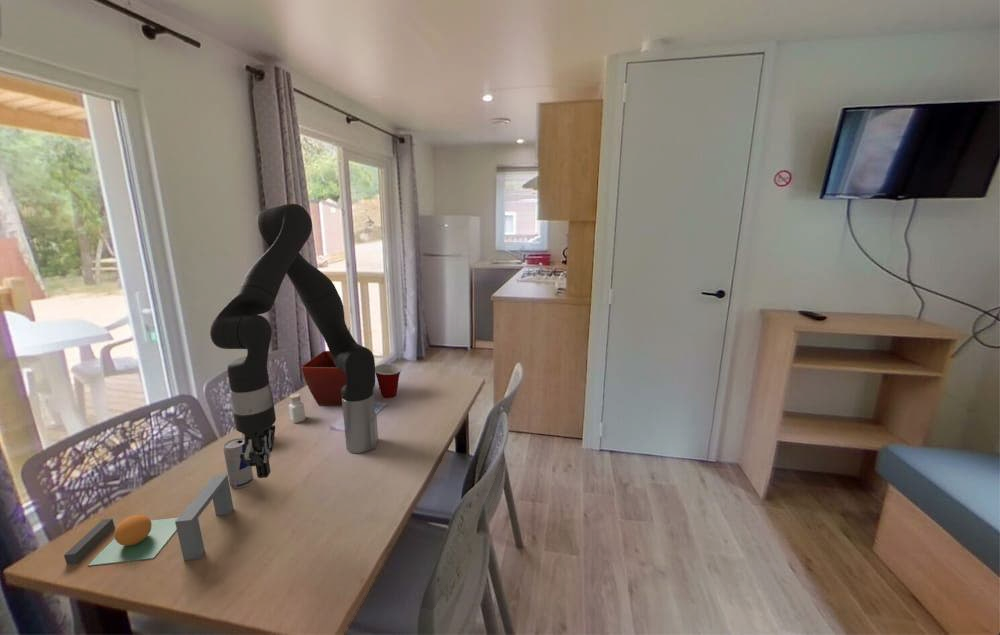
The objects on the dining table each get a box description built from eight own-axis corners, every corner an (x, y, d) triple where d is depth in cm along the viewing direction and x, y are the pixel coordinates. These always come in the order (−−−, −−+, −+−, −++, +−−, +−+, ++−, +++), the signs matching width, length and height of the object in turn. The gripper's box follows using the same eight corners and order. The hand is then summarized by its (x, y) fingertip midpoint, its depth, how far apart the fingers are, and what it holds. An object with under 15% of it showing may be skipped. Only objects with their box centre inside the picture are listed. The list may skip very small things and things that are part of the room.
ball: (121, 517, 89) (138, 537, 91) (100, 536, 83) (118, 557, 85) (147, 504, 90) (163, 524, 91) (128, 522, 84) (146, 543, 86)
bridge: (233, 508, 98) (227, 474, 96) (199, 558, 84) (191, 519, 81) (220, 510, 98) (213, 475, 95) (183, 560, 83) (175, 521, 81)
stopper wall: (114, 527, 92) (112, 518, 91) (78, 563, 82) (75, 553, 82) (105, 528, 92) (102, 519, 91) (66, 565, 82) (63, 555, 81)
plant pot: (327, 388, 168) (323, 350, 163) (372, 389, 167) (369, 351, 163) (304, 409, 149) (299, 367, 145) (355, 410, 149) (351, 368, 144)
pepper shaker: (306, 420, 141) (303, 395, 139) (294, 424, 138) (291, 399, 136) (301, 416, 144) (298, 392, 141) (289, 420, 141) (286, 395, 138)
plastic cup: (399, 401, 156) (398, 373, 153) (372, 401, 156) (370, 372, 153) (406, 390, 166) (404, 363, 163) (380, 389, 166) (378, 362, 164)
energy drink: (258, 478, 109) (251, 439, 106) (240, 491, 105) (233, 450, 102) (243, 474, 111) (237, 436, 108) (225, 486, 106) (217, 446, 103)
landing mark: (187, 517, 95) (187, 516, 95) (153, 558, 84) (153, 557, 84) (130, 523, 93) (130, 522, 93) (88, 566, 82) (87, 565, 82)
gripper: (259, 419, 80) (270, 493, 84) (283, 391, 92) (292, 457, 96) (218, 421, 78) (232, 497, 83) (247, 393, 91) (258, 460, 95)
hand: (264, 475), depth 90 cm, fingers closed
